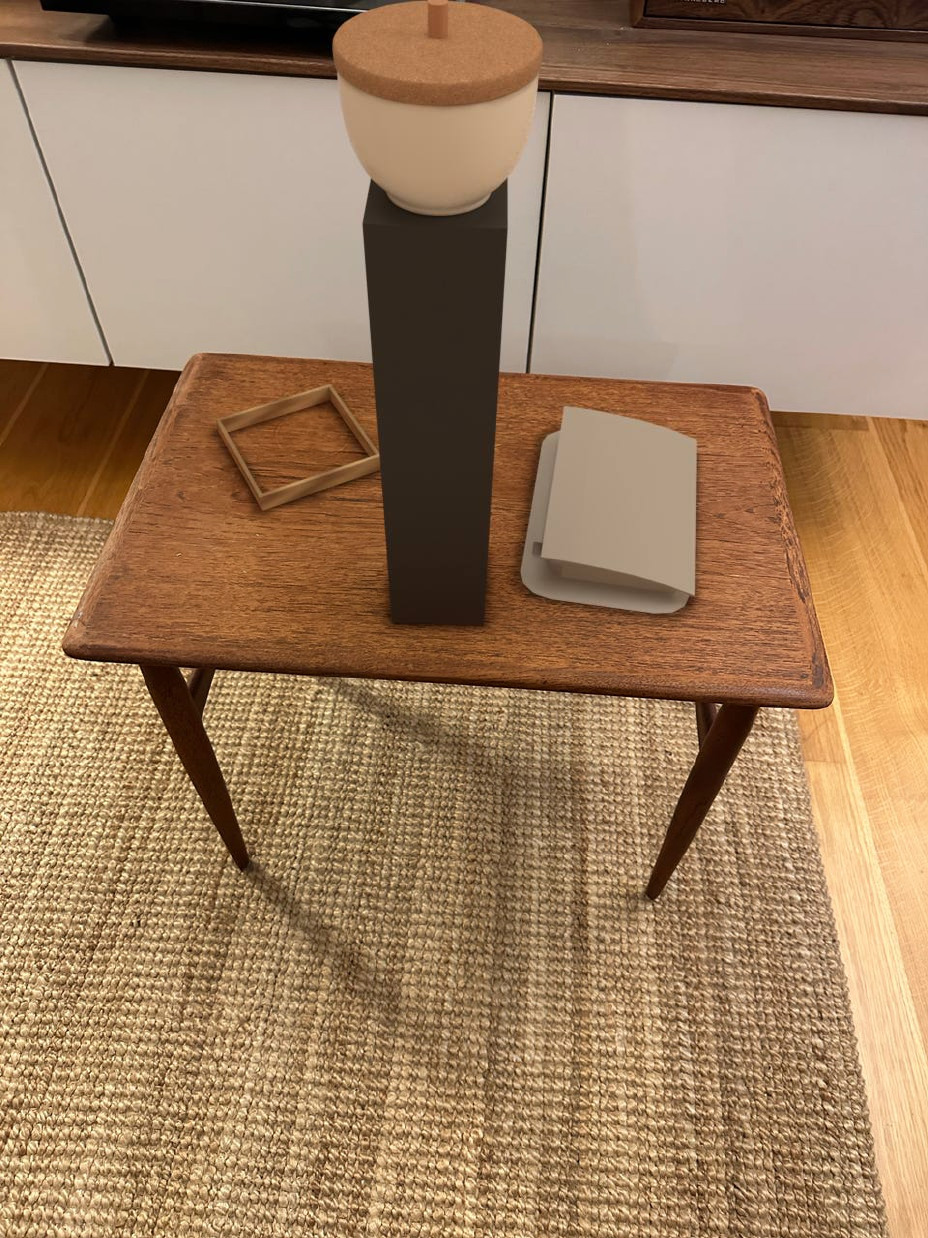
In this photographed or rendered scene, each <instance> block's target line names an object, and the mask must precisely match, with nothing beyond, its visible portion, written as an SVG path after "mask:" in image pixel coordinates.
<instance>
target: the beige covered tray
mask: <svg viewBox="0 0 928 1238" xmlns="http://www.w3.org/2000/svg"><path fill="white" fill-rule="evenodd" d="M697 458H698V439H696V438H693V437H690V436H689V435H686V434H684V433H681V432H680V431H679V432H678V431H676V430H675V429H672V428H670V427H669V428H668V427H665V426H662V425H659V424H655V423H652V422H648V421H645V420H642V419H637V418H632V417H629V416H624V415H621V414H615V413H610V412H605V411H599V410H595V409H590V408H584V407H577V406H576V407H575V406H568V405H563V411H562V418H561V423H560V429H559V430H557V431H554V432H551V433H550V434H547V435H546V437H545V438H544V440H543V441H542V444H541V448H540V454H539V460H538V466H537V470H536V471H537V472H536V476H535V477H536V478H535V484H534V490H533V495H532V501H531V507H530V514H529V517H528V525H527V531H526V537H525V543H524V548H523V554H522V558H521V559H522V560H521V565H520V571H519V573H520V576H521V582H522V585H524V587H526V588H527V589H528V590H529V591H530V592H531V593H533V594H534V595H537V596H540V597H543V598H546V599H549V600H552V601H553V600H554V601H559V602H560V601H562V602H569V603H575V604H581V605H589V606H597V607H601V608H609V609H610V608H611V609H618V610H625V611H630V612H631V611H632V612H639V613H646V614H653V615H656V614H657V615H658V614H659V615H660V614H661V615H662V614H673V613H675V612H677V611H679V610H681V609H682V608H684V607H685V606H686V605H687V602H688V600H689V597H690V596H692V597H694V598H695V596H696V545H697V544H696V539H697V538H696V537H697V534H696V533H697V532H696V531H697V469H698V468H697V465H698V464H697Z"/></svg>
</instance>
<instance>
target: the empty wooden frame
mask: <svg viewBox="0 0 928 1238" xmlns="http://www.w3.org/2000/svg"><path fill="white" fill-rule="evenodd" d="M326 402H331V404H332V405H333V407H335V409H336V410H337V412H338V413H339V416H340V417H341V418H342V419H343V422H345V424H346V425H347V427H348V428H349V429H350V431H351V433H352V434H353V435H354V437H355V438H356V440H357V441H358V442H359V444H360V445H361V446H362V448H363V450H364V451H365V453H366V454H367V455H368V457H365V458H363V459H359V460H356V461H354V462H350V463H348V464H345V465H342V466H339V467H336V468H333V469H331V470H327V471H324V472H321V473H318V474H316V475H313V476H310V477H307V478H304V479H301V480H297V481H295V482H292V483H289V484H287V485H284V486H281V487H277V488H274V489H271V490H268V491H265V492H262V491H261V488H260V487H259V486H258V484H257V482H256V480H255V478H254V476H253V475H252V473H251V471H250V469H249V468H248V466H247V464H246V462H245V460H244V459H243V457H242V456H241V454H240V452H239V451H238V449H237V447H236V445H235V442H233V440H232V438H231V436H230V434H229V433H231V432H234V431H238V430H240V429H244V428H247V427H250V426H254V425H257V424H259V423H264V422H266V421H269V420H273V419H276V418H278V417H282V416H285V415H289V414H292V413H295V412H297V411H301V410H305V409H307V408H310V407H313V406H317V405H321V404H324V403H326ZM215 422H216V426H217V430H218V434H219V436H220V437H221V439H222V441H223V443H224V444H225V446H226V448H227V450H228V451H229V454H230V456H231V457H232V459H233V461H234V462H235V464H236V466H237V468H238V470H239V472H240V473H241V475H242V477H243V478H244V480H245V483H246V484H247V486H248V487H249V490H250V491H251V493H252V495H253V497H254V498H255V500H256V502H257V503H258V505H259V507H260V509H261V511H267V510H269V509H271V508H275V507H278V506H280V505H283V504H286V503H290V502H292V501H295V500H298V499H301V498H304V497H307V496H309V495H312V494H315V493H318V492H321V491H324V490H327V489H329V488H332V487H336V486H338V485H341V484H344V483H347V482H349V481H353V480H355V479H359V478H362V477H365V476H367V475H370V474H373V473H376V472H379V471H380V457H379V449H377V448H376V446H375V445H374V443H373V442H372V440H371V439H370V438H369V436H368V434H367V433H366V432H365V430H364V429H363V427H362V426H361V425H360V423H359V422H358V421H357V419H356V417H355V415H354V414H353V413H352V411H350V409H349V407H347V405H346V403H345V401H344V400H343V399H342V398H341V397H340V395H339V394H338V392H337V391H336V390H335V388H334V387H333V385H332V384H331V383H329V384H328V383H327V384H325V385H322V386H318V387H315V388H313V389H310V390H305V391H303V392H299V393H296V394H292V395H290V396H287V397H283V398H280V399H277V400H274V401H269V402H267V403H264V404H261V405H257V406H254V407H251V408H248V409H244V410H241V411H237V412H234V413H232V414H228V415H225V416H222V417H218V418H216V419H215Z"/></svg>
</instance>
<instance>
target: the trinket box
mask: <svg viewBox="0 0 928 1238" xmlns="http://www.w3.org/2000/svg"><path fill="white" fill-rule="evenodd" d="M543 53H544V44H543V40H542V37H541V36H540V34H539V33H538V31H537V29H536V28H534V26H532V25H531V24H530V23H529V22H527V21H526V20H524V19H523V18H521V17H519V16H516V15H514V14H513V13H510V12H507V11H505V10H503V9H499V8H495V7H493V6H492V7H491V6H487V5H483V4H479V3H473V2H467V1H466V2H464V1H453V0H413V1H412V0H411V1H405V2H404V1H403V2H398V3H391V4H387V5H383V6H379V7H375V8H371V9H369V10H366V11H363V12H361V13H359V14H356V15H355V16H352V17H350V18H349V19H348V20H346V21H344V23H343V24H341V26H340V27H339V28H338V29H337V31H336V32H335V34H334V36H333V38H332V56H333V63H334V66H335V70H336V74H337V76H336V77H337V87H338V93H339V95H338V96H339V101H340V108H341V112H342V118H343V122H344V126H345V129H346V133H347V137H348V139H349V143H350V146H351V148H352V150H353V152H354V155H355V157H356V158H357V161H358V162H359V165H361V167H362V168H363V170H364V171H365V173H366V174H367V175H368V177H370V179H371V178H372V179H373V180H374V181H375V182H376V183H377V184H378V186H380V187H381V188H382V189H383V190H384V191H386V193H387V196H388V197H389V199H390V200H391V201H392V202H393V203H394V204H396V205H397V206H399V207H401V208H403V209H405V210H408V211H410V212H414V213H418V214H423V215H432V216H447V215H456V214H461V213H465V212H469V211H471V210H474V209H476V208H478V207H480V206H481V205H483V204H484V203H485V202H486V201H487V200H488V199H489V197H490V195H491V192H493V191H494V190H495V189H496V188H498V187H499V186H500V185H501V184H502V183H503V182H504V181H505V180H506V178H507V177H508V178H509V176H511V174H512V173H513V171H514V170H515V168H516V167H517V165H518V163H519V161H520V159H521V157H522V155H523V153H524V151H525V149H526V147H527V143H528V140H529V137H530V134H531V130H532V126H533V120H534V116H535V110H536V106H537V97H538V88H539V75H540V74H539V73H540V72H541V67H542V64H543V63H542V62H543V56H544V55H543Z"/></svg>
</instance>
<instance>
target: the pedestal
mask: <svg viewBox="0 0 928 1238" xmlns="http://www.w3.org/2000/svg"><path fill="white" fill-rule="evenodd" d="M508 188H509V176H508V177H507V178H506V180H505V181H504V182H503V183H502V184H501V185H500V186H499V187H498V188H496V189H495V190H494V191H493V192H491V195H490V197H489V199H488V200H487V201H486V202H485V203H484V204H483V205H481V206H480V207H478V208H476V209H474V210H471V211H469V212H465V213H461V214H456V215H447V216H432V215H423V214H418V213H414V212H410V211H408V210H405V209H403V208H401V207H399V206H397V205H396V204H394V203H393V202H392V201H391V200H390V199H389V197H388V196H387V193H386V191H384V190H383V189H382V188H381V187H380V186H378V184H377V183H376V182H375V181H374V180H373V179H372V178H371V177H370V181H369V186H368V192H367V196H366V202H365V208H364V212H363V217H362V222H361V223H362V225H361V226H362V235H363V236H362V237H363V251H364V252H363V253H364V266H365V278H366V292H367V293H366V294H367V305H368V306H367V307H368V320H369V332H370V333H369V335H370V346H371V347H370V348H371V360H372V361H371V362H372V373H373V374H372V375H373V387H374V398H375V399H374V401H375V414H376V427H377V428H376V429H377V442H378V452H379V457H380V470H379V471H380V483H381V493H382V494H381V497H382V511H383V523H384V524H383V525H384V535H385V536H384V537H385V538H384V539H385V550H386V551H385V552H386V561H387V562H386V564H387V578H388V592H389V605H390V619H391V623H393V624H417V625H418V624H419V625H444V626H445V625H446V626H447V625H448V626H474V627H475V626H476V627H484V626H485V620H486V619H485V616H486V615H485V614H486V601H487V600H486V599H487V585H488V568H489V567H488V566H489V551H490V536H491V535H490V533H491V519H492V516H491V515H492V503H493V502H492V500H493V485H494V484H493V483H494V466H495V449H496V434H497V416H498V400H499V399H498V398H499V384H500V383H499V381H500V365H501V348H502V335H503V334H502V333H503V331H502V330H503V318H504V317H503V316H504V315H503V314H504V297H505V281H506V268H507V267H506V266H507V265H506V264H507V250H508V249H507V248H508V233H509V232H508V230H509V193H508V192H509V189H508Z"/></svg>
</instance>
